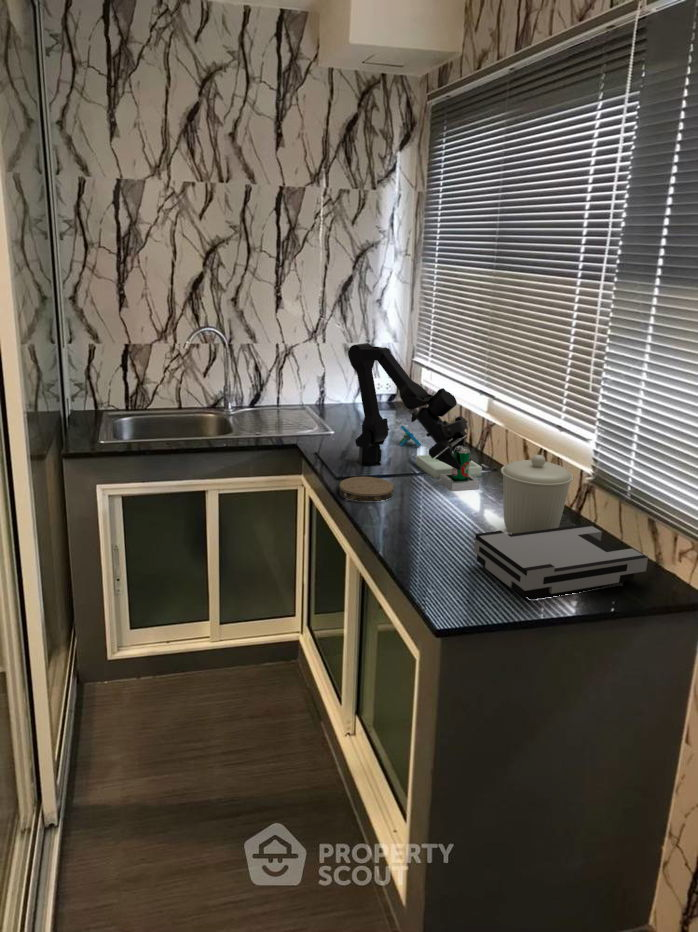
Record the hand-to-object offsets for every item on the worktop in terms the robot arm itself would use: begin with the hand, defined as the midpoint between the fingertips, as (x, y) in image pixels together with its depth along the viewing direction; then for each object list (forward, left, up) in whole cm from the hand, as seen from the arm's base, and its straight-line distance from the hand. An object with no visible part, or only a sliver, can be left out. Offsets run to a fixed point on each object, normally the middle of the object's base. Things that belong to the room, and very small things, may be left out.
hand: (465, 465), depth 232 cm
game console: (-6, -62, -7) cm, 63 cm away
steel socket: (-1, +1, -7) cm, 7 cm away
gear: (+1, +46, -7) cm, 47 cm away
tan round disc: (-32, -1, -7) cm, 32 cm away
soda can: (-1, +1, -7) cm, 7 cm away
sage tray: (+2, +16, -7) cm, 17 cm away
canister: (+1, -38, -7) cm, 39 cm away
